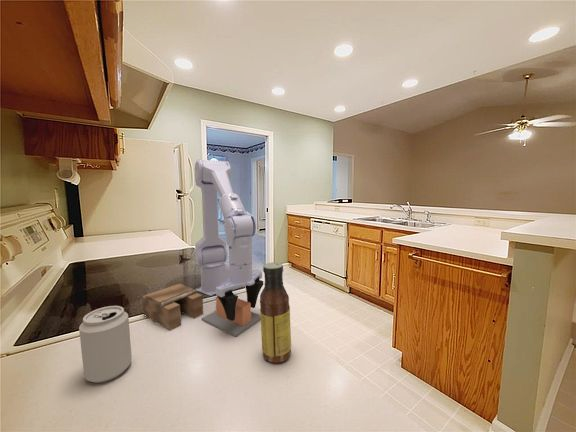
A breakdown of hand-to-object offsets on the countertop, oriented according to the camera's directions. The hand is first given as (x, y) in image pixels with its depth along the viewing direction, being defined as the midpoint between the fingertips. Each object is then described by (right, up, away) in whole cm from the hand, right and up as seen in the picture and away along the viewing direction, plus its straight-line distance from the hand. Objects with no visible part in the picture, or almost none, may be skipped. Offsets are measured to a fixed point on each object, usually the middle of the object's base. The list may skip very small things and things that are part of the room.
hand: (241, 312), depth 64 cm
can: (-23, -5, -16) cm, 28 cm away
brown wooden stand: (-20, -2, +5) cm, 21 cm away
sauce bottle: (+10, -5, -11) cm, 16 cm away
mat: (-3, -3, +2) cm, 5 cm away
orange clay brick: (-3, -2, +2) cm, 4 cm away
